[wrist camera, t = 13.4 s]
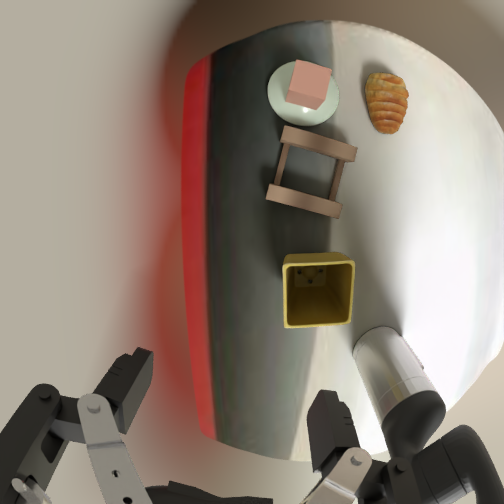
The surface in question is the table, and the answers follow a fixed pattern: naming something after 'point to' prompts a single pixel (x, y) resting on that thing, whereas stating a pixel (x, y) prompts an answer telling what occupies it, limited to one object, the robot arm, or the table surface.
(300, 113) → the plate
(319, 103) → the part
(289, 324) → the flower pot
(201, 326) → the table surface
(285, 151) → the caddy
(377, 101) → the pastry
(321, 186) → the table surface
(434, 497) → the robot arm
